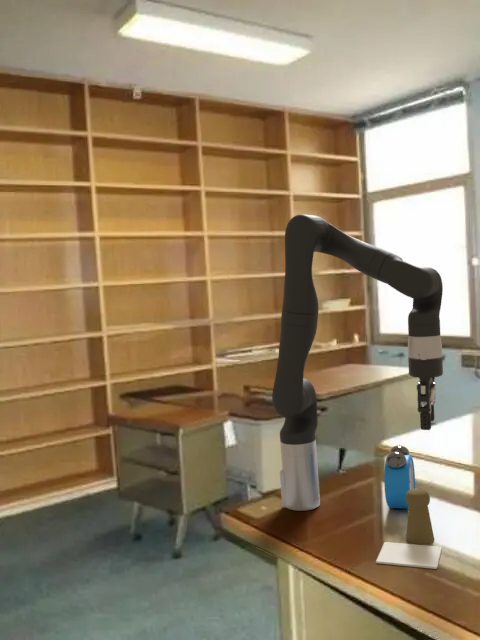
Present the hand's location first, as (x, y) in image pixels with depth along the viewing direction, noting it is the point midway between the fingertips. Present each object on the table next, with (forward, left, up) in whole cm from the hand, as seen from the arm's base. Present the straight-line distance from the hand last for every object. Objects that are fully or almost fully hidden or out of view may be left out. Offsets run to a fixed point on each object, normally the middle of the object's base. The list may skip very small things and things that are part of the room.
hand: (427, 425), depth 150 cm
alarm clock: (-9, +10, -24) cm, 27 cm away
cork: (-2, -9, -24) cm, 25 cm away
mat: (-3, -18, -23) cm, 30 cm away
